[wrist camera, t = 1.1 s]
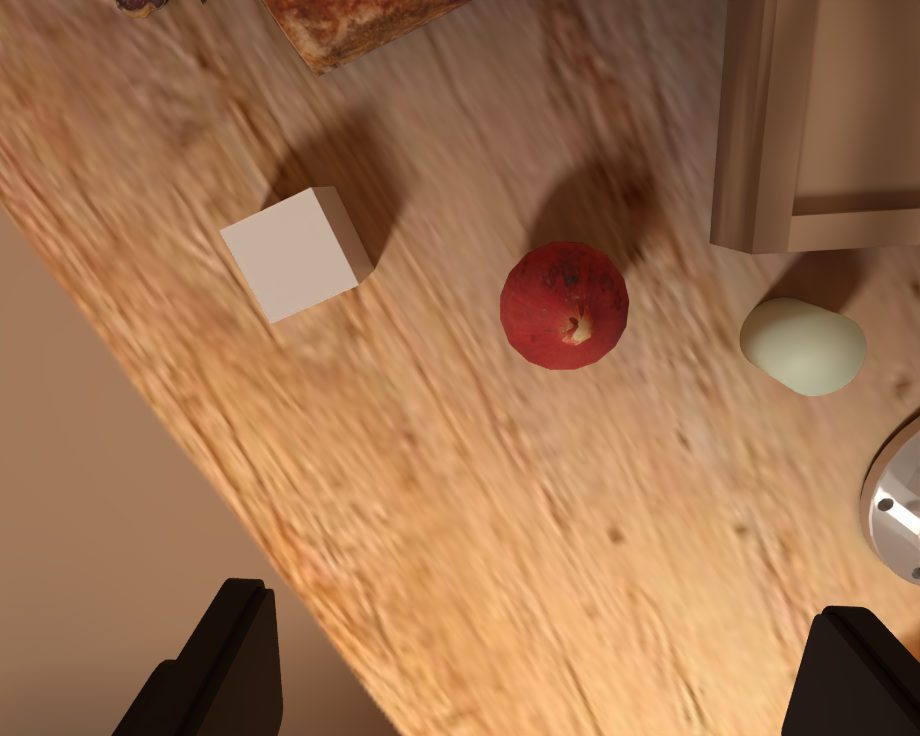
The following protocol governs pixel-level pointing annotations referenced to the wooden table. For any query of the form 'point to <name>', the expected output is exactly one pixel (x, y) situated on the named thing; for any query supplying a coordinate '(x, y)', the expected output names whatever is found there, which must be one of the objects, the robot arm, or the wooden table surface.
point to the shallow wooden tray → (818, 126)
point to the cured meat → (334, 24)
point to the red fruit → (564, 306)
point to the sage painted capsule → (803, 345)
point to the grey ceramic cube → (299, 252)
